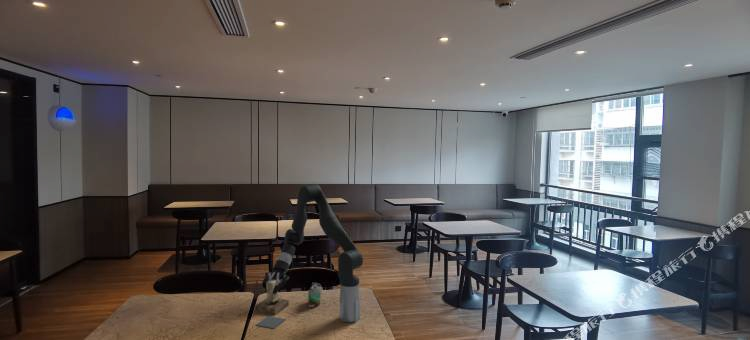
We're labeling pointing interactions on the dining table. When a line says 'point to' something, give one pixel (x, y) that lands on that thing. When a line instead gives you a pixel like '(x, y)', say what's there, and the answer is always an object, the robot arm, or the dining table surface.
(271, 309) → the walnut eye block
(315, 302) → the food container
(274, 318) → the blue-grey square plate
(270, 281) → the beech peg
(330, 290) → the dining table surface
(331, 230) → the robot arm
